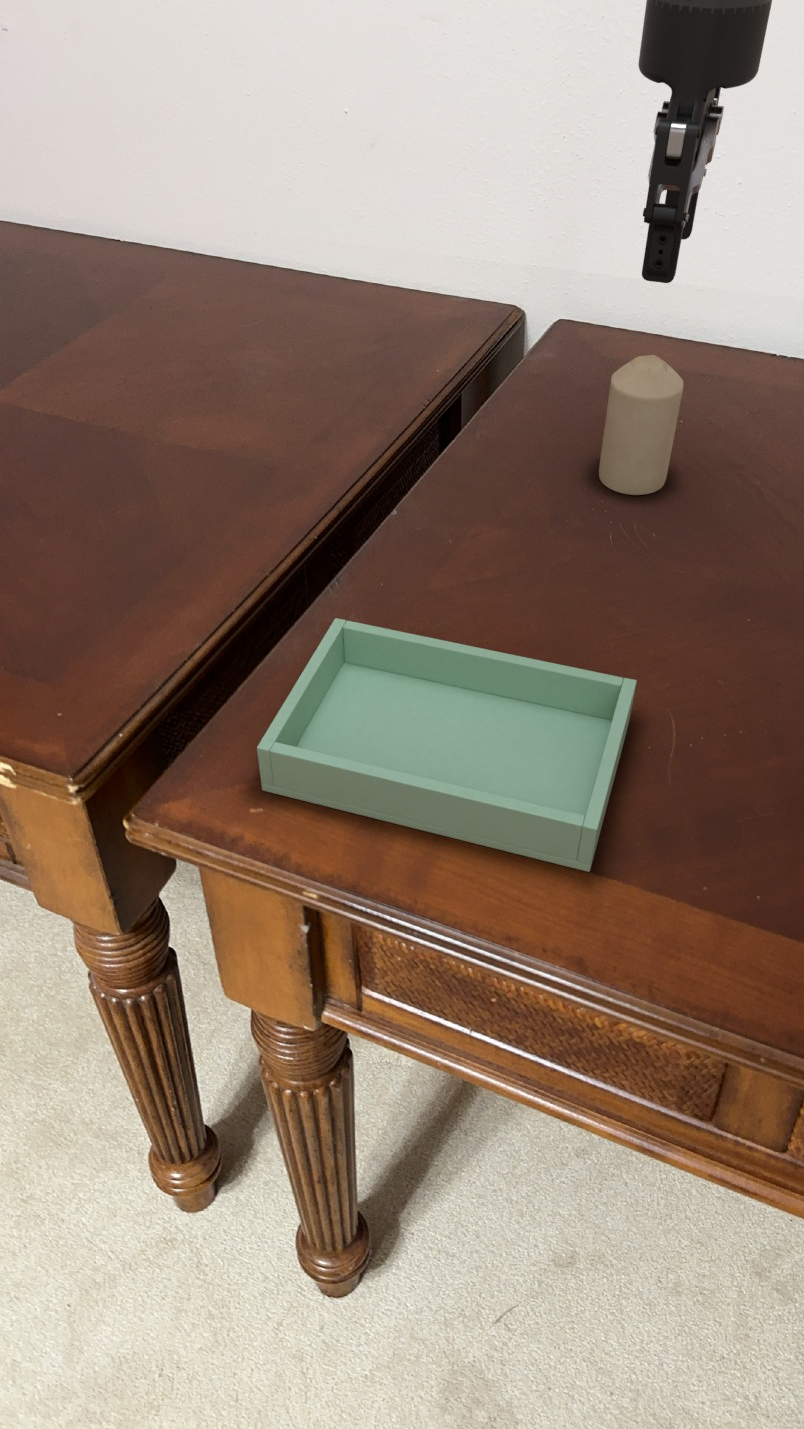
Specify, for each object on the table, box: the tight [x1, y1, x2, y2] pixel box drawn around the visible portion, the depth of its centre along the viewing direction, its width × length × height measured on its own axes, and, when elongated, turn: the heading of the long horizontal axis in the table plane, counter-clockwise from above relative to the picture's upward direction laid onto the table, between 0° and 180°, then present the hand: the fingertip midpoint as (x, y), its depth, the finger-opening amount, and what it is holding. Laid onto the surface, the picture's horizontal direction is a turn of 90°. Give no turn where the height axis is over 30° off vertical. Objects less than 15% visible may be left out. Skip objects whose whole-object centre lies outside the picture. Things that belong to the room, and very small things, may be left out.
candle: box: [598, 354, 685, 496], centre depth 87 cm, size 6×6×10 cm
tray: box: [256, 617, 638, 873], centre depth 66 cm, size 20×13×4 cm, turn 72°
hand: (666, 257), depth 78 cm, fingers open, 8 cm apart
